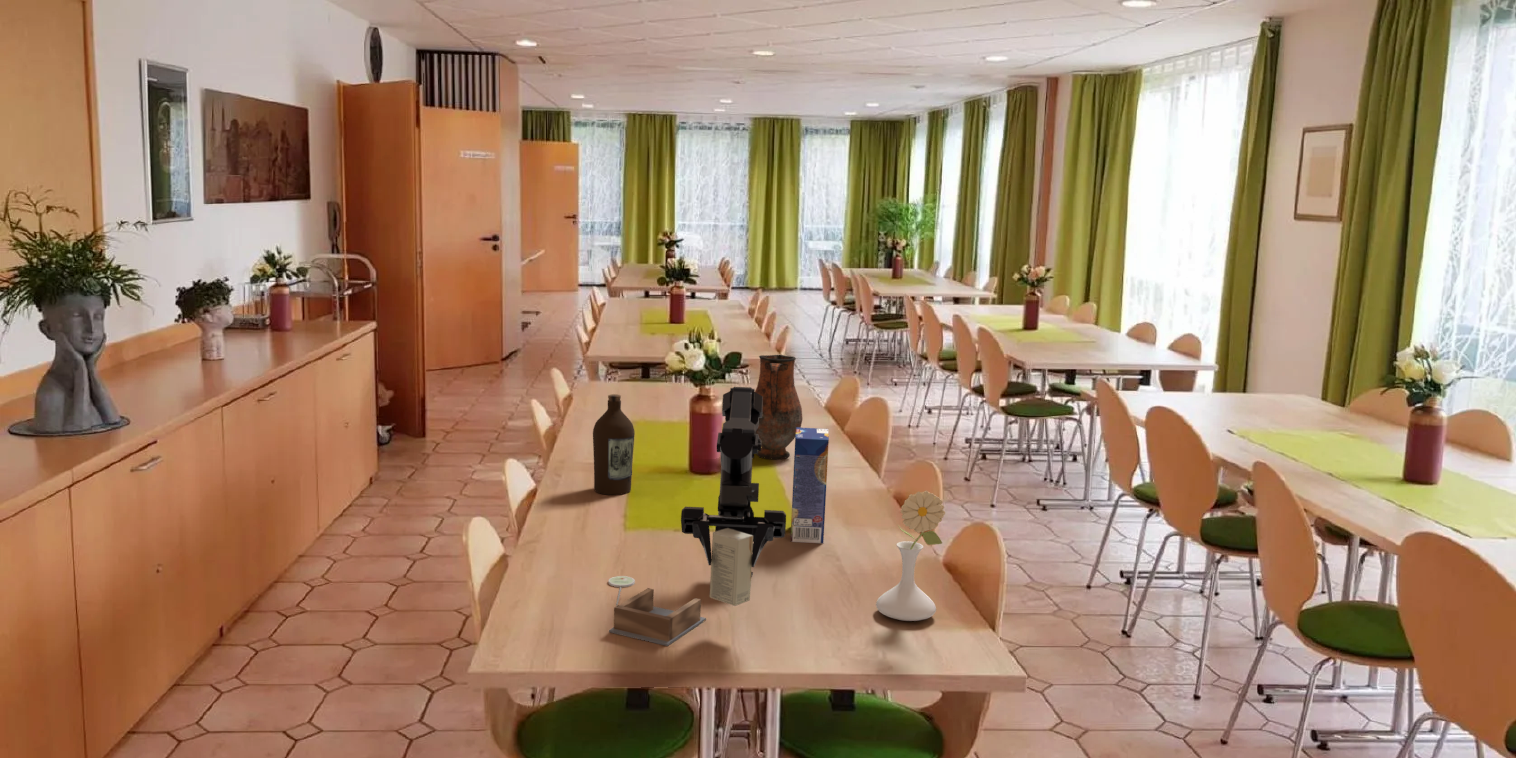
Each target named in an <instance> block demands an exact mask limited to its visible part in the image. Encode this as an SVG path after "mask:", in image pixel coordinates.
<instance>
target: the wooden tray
mask: <svg viewBox="0 0 1516 758" xmlns="http://www.w3.org/2000/svg"><path fill="white" fill-rule="evenodd" d="M654 593H655V592H654V588H650V587H647V588H646V589H644V590H642V591H640V592H639V593H637V594H635V595H633V596H632V597H630V598H628V599H627V600H626V599H625V600H624V601H622V602H621V603H618V605H615V606H614V607H613V627H614V629H617V630H621V631H625V632H630V633H634V634H638V635H642V636H646V637H651V638H655V639H659V640H663V641H668V642H669V641H670V640H672V639H673V638H675V637H676V636H678V635H679V634H681V633H682V632H683V631H685V630H686V629H688V628H689V627H691V626H692V625H694V624H695V623H697V622H698V621H700V617H701V611H702V610H701V609H702V605H701V604H702V599H701V598H696V597H695V598H692V600H690V601H688V602H686V603H685V604H683V605H682V606H680V607H679V608H677V609H676V610H673V611H674V612H672V613H671V614H669V615H668V616H663V615H659V614H654V613H650V611H652V610H653V606H654Z"/></svg>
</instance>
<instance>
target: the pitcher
mask: <svg viewBox="0 0 1516 758" xmlns="http://www.w3.org/2000/svg"><path fill="white" fill-rule="evenodd" d="M758 357H759V360H760V361H759V375H758V376H759V377H758V381H757V382H758V383H757V386H756V387H755V392H756V393H758V394H760V395H761V396H763V406H762V418H759V422H758V429H757V430H756V432H755V434H759V437H760V439H761V451H758V454H756V456H757V455H758V456H759V458H761V459H764V458H765V459H766V460H771V461H772V460H773V461H774V460H777V461H778V460H785V459H787V458H789V457H790V452H789V451H787V449H786V448H787V447H788V446H789V445H790V444H791V443H792V442H793V441H795V435H796V427H800V428H802V427H801V426H802V423H803V408H802V405H801V402H800V399H799V395H798V392H797V389H796V386H795V375H794V372H795V364H796V363H795V361H796V359H797V358H796V357H795V356H792V355H791V356H790V355H783V354H772V355H771V354H769V355H768V354H767V355H764V354H763V355H762V354H761V355H759V356H758ZM758 456H757V457H758ZM765 459H764V460H765Z"/></svg>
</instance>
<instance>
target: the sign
mask: <svg viewBox="0 0 1516 758" xmlns="http://www.w3.org/2000/svg"><path fill="white" fill-rule="evenodd" d="M607 583H608V585H610V587H613V586H614V588H618V594H617V598H616V603H615V606H617V605H619V601H620V596H621V593H620V592H622V588H629V586H630V587H632V586H634V585H635V583H636V580H635V578H633V577H632V576H627V575H617V576H613V577H610V578H609V579H608V582H607Z"/></svg>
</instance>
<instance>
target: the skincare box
mask: <svg viewBox="0 0 1516 758" xmlns="http://www.w3.org/2000/svg"><path fill="white" fill-rule="evenodd" d="M711 541H712V544H711V565H710V581H709V583H710V584H709V599H710V598H711V599H713V600H716V601H719V602H722V603H724V604H728V605H731V606H732V607H733V606H734V607H736V606H740V605H742V604H744V603H746V602H749V601H750V599H751V586H752V585H751V581H752V577H751V572H752V569H753V567H752V554H753V553H752V550H753V543H754V542H753V535H750V534H747V533H743V532H740V531H736V530H733V529H729V528H726V529H723V530H719V531H716V532H715V531H713V532H712V540H711Z"/></svg>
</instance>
